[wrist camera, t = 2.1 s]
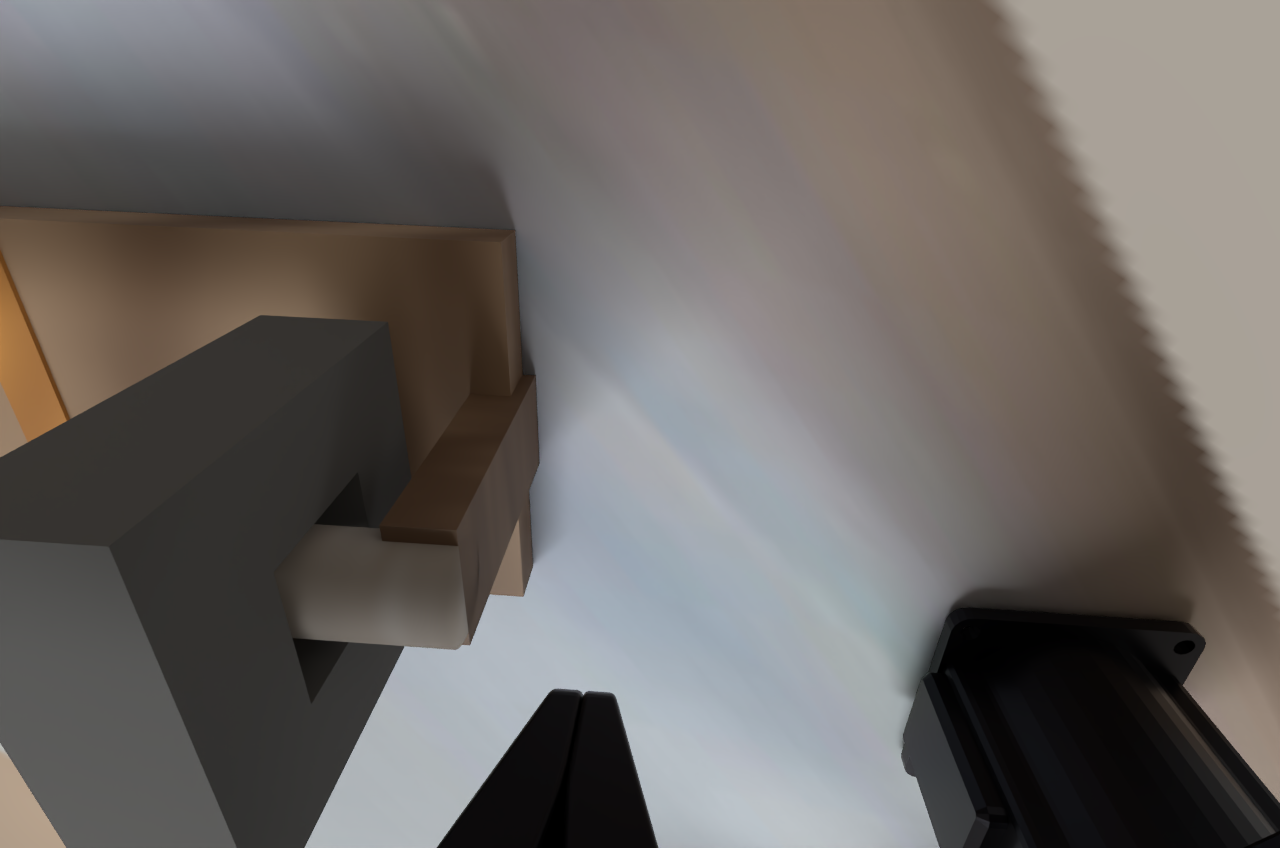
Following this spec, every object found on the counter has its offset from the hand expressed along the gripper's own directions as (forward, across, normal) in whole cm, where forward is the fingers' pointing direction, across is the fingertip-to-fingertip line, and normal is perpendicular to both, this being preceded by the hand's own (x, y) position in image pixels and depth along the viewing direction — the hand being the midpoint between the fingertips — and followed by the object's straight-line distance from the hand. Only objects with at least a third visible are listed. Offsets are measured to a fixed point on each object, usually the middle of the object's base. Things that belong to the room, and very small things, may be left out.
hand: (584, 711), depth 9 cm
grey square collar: (+5, +6, 0) cm, 8 cm away
